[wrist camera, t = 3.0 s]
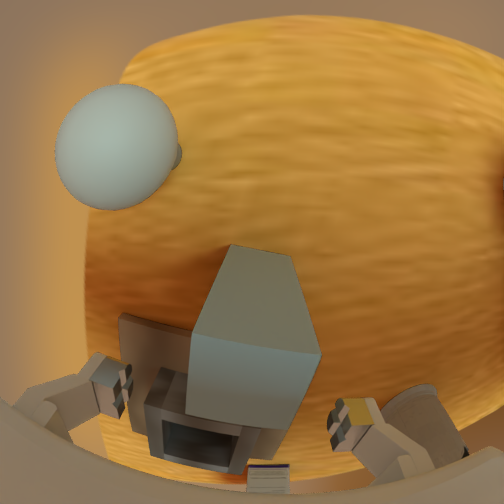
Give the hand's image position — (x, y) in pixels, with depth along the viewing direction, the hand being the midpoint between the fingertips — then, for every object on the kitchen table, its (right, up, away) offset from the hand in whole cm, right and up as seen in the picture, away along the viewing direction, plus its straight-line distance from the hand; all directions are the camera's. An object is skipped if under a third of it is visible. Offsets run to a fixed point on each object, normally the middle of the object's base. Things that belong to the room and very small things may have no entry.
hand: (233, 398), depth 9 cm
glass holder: (+21, -16, +17) cm, 32 cm away
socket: (-4, -10, +16) cm, 19 cm away
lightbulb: (-5, +13, +10) cm, 17 cm away
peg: (+1, +3, +12) cm, 12 cm away
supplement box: (+3, -26, +20) cm, 33 cm away
